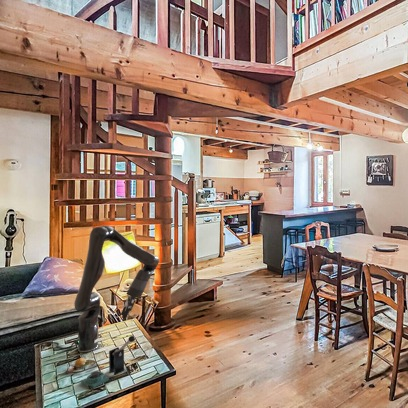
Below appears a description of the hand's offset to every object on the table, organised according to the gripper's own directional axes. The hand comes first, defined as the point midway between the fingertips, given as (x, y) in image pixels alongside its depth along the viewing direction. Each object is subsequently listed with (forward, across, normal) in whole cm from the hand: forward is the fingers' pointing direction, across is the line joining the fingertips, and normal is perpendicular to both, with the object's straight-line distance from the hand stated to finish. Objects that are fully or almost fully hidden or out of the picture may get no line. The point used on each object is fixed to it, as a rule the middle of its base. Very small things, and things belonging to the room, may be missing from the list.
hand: (123, 316), depth 175 cm
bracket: (+26, +10, +8) cm, 29 cm away
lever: (+13, +9, +7) cm, 17 cm away
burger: (+30, -6, -6) cm, 31 cm away
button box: (+30, +13, 0) cm, 33 cm away
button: (+27, +14, -1) cm, 30 cm away
